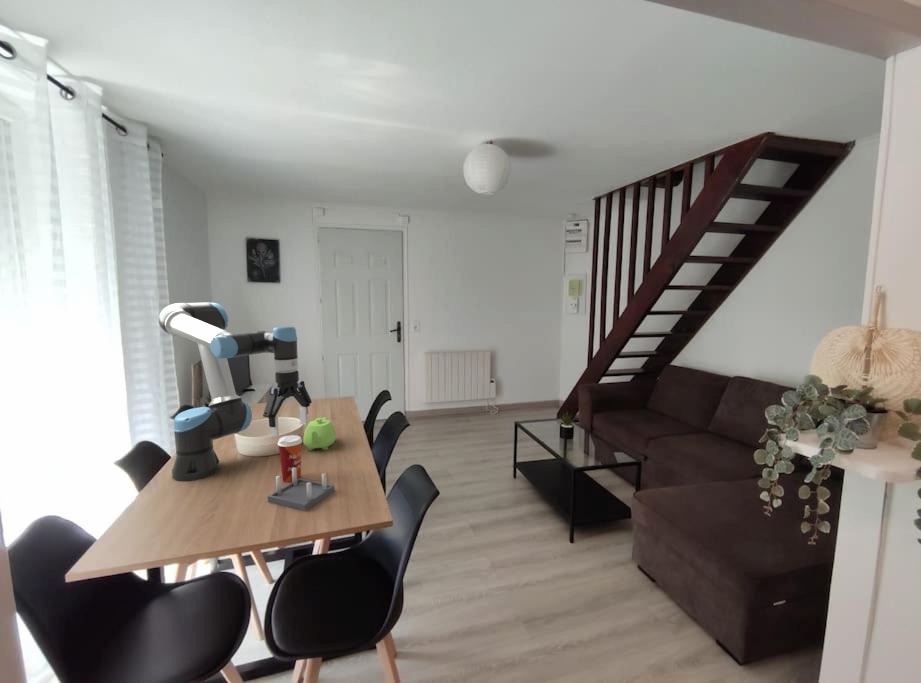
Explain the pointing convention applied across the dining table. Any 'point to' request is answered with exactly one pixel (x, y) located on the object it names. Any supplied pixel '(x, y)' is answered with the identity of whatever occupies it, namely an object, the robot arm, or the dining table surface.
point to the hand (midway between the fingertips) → (290, 429)
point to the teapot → (319, 434)
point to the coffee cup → (290, 456)
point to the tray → (300, 492)
